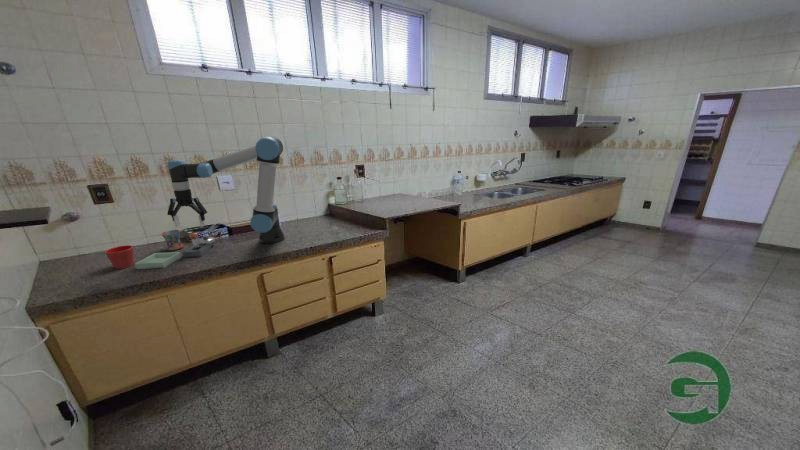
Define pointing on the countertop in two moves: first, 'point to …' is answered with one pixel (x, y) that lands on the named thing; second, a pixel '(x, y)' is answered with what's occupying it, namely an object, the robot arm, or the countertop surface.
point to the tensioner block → (200, 247)
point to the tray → (158, 260)
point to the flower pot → (121, 256)
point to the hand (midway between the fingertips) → (190, 226)
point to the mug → (172, 239)
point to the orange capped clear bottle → (194, 240)
